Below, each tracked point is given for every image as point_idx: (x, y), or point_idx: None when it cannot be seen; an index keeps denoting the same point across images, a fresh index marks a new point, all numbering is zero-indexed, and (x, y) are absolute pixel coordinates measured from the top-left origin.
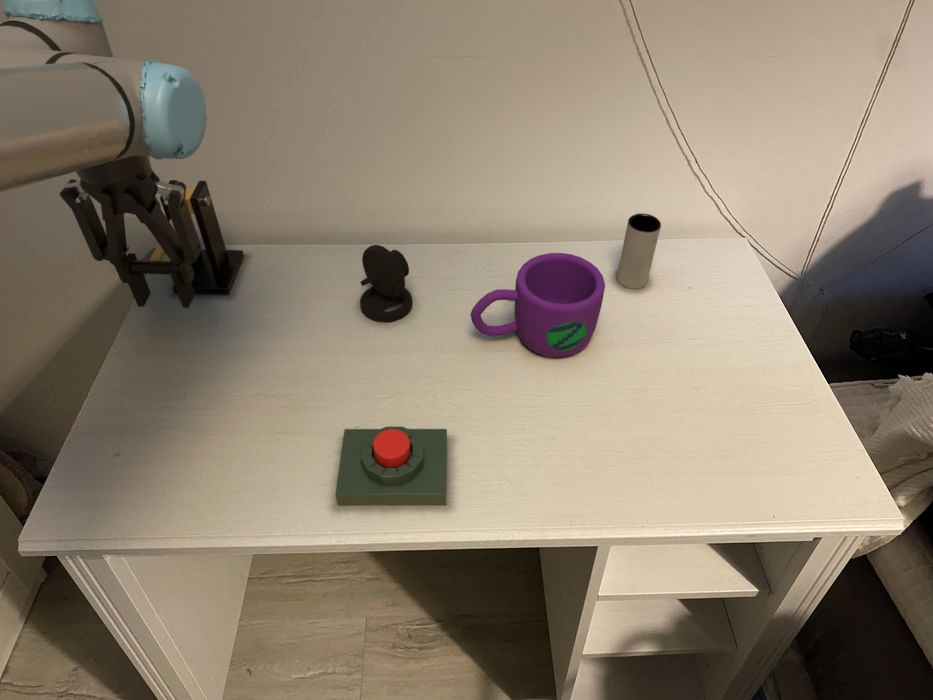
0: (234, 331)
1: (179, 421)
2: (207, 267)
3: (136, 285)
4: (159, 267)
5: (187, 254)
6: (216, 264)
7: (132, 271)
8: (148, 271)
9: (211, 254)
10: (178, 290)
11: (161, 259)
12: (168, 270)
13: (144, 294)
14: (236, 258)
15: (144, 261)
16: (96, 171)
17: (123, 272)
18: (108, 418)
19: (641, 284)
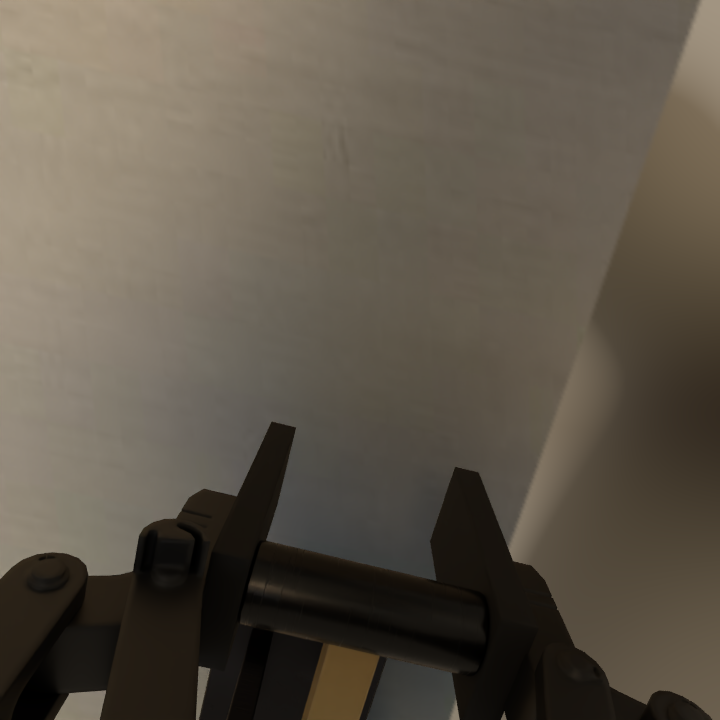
0: (208, 405)
1: (357, 23)
2: (298, 678)
3: (469, 538)
4: (312, 585)
5: (34, 609)
6: (242, 671)
7: (475, 596)
8: (385, 578)
9: (238, 709)
10: (270, 471)
11: (320, 658)
12: (265, 557)
13: (448, 518)
14: (213, 697)
15: (400, 647)
16: None
17: (525, 598)
18: (587, 93)
19: None
